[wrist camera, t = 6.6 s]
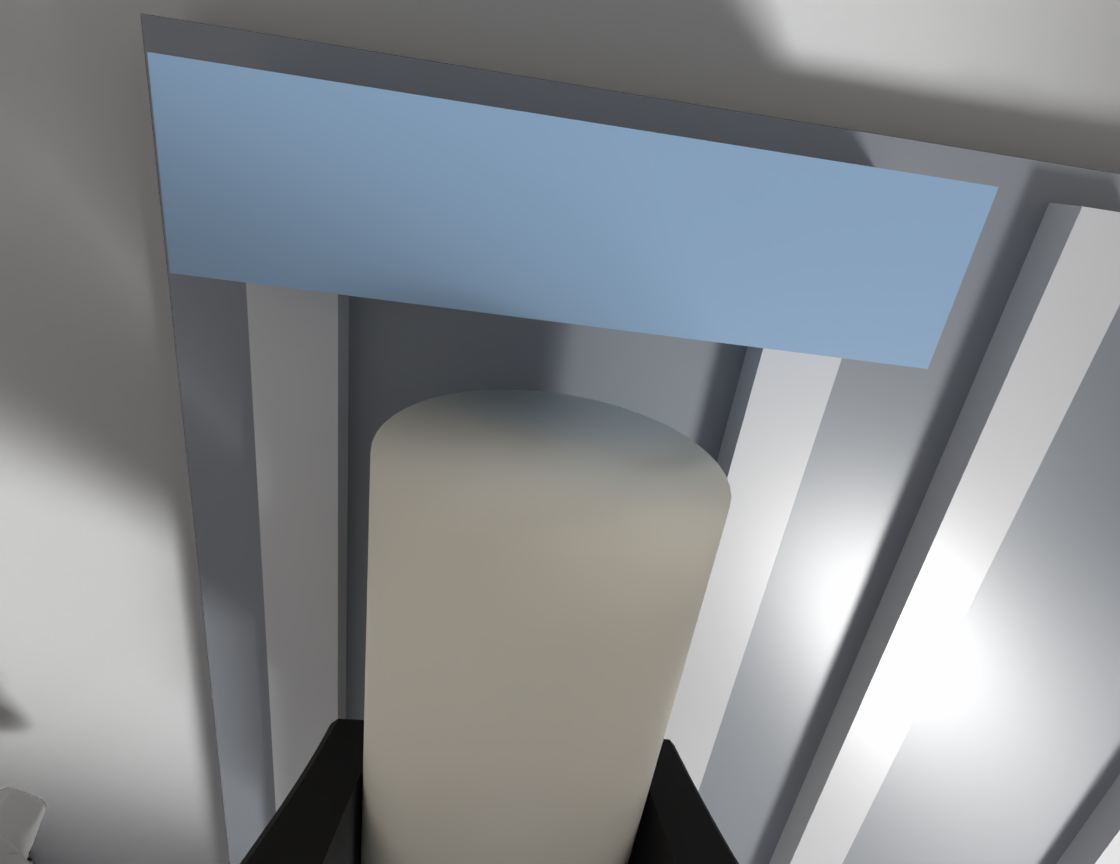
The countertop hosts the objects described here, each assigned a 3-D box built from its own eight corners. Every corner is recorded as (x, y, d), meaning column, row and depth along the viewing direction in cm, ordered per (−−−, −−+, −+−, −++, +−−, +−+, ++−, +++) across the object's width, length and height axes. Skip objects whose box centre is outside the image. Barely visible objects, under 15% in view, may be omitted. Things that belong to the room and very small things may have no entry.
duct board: (1030, 942, 19) (1133, 1104, 16) (255, 917, 17) (192, 1100, 14) (1542, 249, 11) (1965, 293, 8) (181, 27, 9) (-20, -41, 6)
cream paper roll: (570, 914, 14) (574, 1185, 10) (386, 899, 14) (325, 1170, 10) (692, 410, 9) (781, 584, 6) (413, 374, 9) (314, 529, 5)
